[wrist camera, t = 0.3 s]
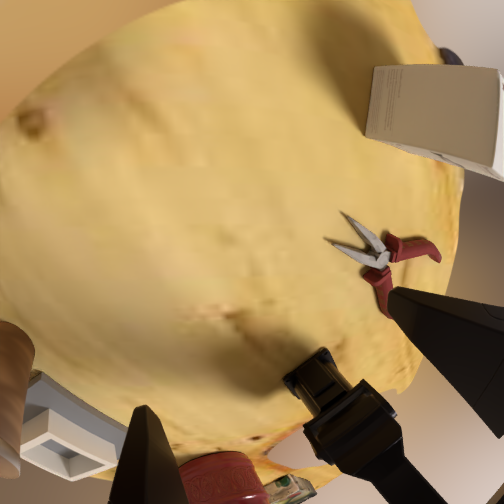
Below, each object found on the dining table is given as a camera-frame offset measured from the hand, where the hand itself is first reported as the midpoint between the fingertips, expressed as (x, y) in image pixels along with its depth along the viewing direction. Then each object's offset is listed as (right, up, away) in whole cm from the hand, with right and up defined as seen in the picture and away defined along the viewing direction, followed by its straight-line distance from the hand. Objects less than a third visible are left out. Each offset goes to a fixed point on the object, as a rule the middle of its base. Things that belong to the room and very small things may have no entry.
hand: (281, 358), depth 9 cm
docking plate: (-23, -18, +14) cm, 33 cm away
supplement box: (+13, +17, +15) cm, 26 cm away
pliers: (+16, +3, +23) cm, 28 cm away
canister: (-8, -31, +28) cm, 43 cm away
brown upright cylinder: (-22, -5, +9) cm, 24 cm away
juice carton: (+7, -56, +47) cm, 74 cm away
